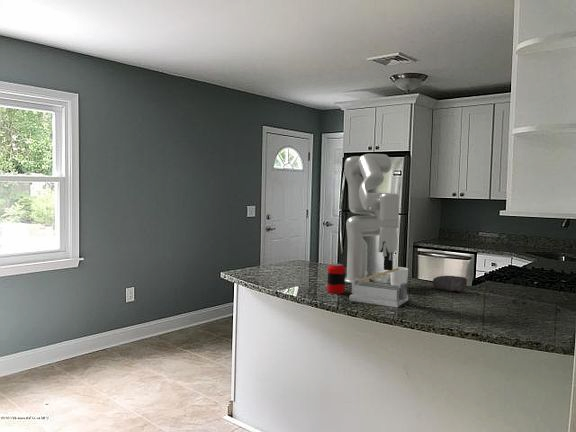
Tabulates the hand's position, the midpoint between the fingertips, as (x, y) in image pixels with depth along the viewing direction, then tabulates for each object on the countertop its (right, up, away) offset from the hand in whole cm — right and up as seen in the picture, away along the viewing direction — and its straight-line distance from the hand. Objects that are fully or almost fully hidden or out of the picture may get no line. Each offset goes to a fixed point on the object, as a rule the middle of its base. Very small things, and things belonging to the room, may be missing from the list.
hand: (388, 269), depth 198 cm
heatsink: (-3, -13, +3) cm, 14 cm away
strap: (-4, -3, +3) cm, 6 cm away
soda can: (-19, -12, +17) cm, 29 cm away
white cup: (+9, -12, +23) cm, 27 cm away
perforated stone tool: (+32, -12, +24) cm, 42 cm away
